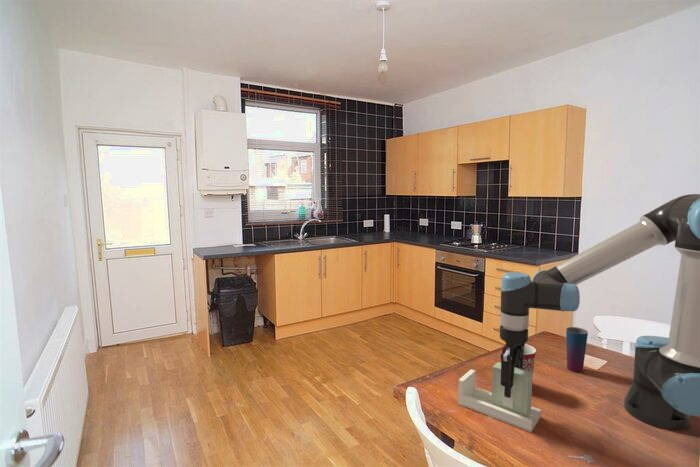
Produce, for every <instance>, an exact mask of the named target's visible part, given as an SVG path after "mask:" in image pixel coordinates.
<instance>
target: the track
mask: <svg viewBox="0 0 700 467" xmlns="http://www.w3.org/2000/svg"><path fill="white" fill-rule="evenodd" d="M457 390H458V393H457V396H458V397H457V398H458V399H457V404H458V405H461V406H463V407H465V408H468V409H471V410H473V411H475V412H478V413H481V414H483V415H486V416H488V417H490V418H493V419H496V420H498V421H501V422H503V423H506V424H508V425H510V426H513V427H516V428H518V429H521V430H524V431H526V432H529V433H532V432H533V430H534V429H535V427H536V426H537V424H538V422H539V421H540V419H541V418H542V416H541V414H542V413H541V412H542V410H541V409H540V408H537V407H534V406H531V412H530V413H529V415H528V416H527V417H524V416H522V415H519V414H516V413H513V412H511V411H508V410H505V409H503V408H500V407H497V406H495V405H492V404H491V403H492V391H489V390H486V389H482V388H479V387H477V386H476V370H474V369H469V370H468V371H467V372H466V373H465V374H464V375H462V376H461V377H460V378H459V379H458V389H457Z"/></svg>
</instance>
